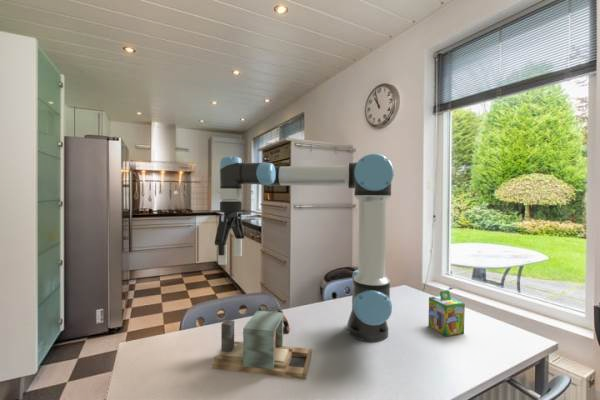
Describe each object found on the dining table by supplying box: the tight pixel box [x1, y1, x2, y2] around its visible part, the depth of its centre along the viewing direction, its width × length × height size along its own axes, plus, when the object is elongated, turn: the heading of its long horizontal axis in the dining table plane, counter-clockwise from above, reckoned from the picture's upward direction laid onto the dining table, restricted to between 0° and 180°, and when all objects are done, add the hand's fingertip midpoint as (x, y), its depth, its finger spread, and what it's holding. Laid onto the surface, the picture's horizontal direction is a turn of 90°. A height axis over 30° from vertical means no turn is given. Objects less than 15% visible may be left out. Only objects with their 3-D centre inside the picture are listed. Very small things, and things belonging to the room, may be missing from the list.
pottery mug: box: [272, 309, 291, 334], centre depth 107 cm, size 12×10×8 cm
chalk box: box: [427, 290, 466, 337], centre depth 108 cm, size 9×9×15 cm
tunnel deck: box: [212, 310, 313, 380], centre depth 87 cm, size 28×13×13 cm, turn 81°
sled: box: [219, 319, 289, 363], centre depth 88 cm, size 20×7×9 cm, turn 81°
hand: (230, 259), depth 101 cm, fingers open, 13 cm apart
